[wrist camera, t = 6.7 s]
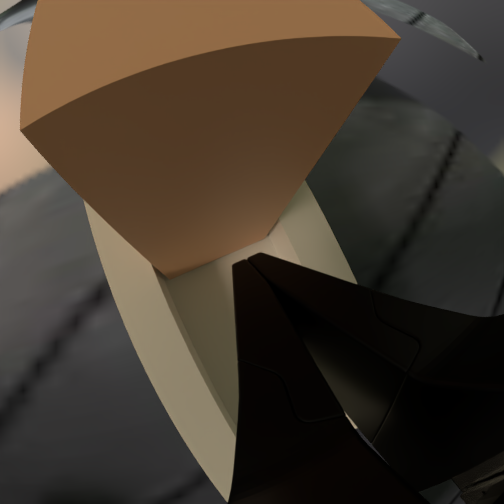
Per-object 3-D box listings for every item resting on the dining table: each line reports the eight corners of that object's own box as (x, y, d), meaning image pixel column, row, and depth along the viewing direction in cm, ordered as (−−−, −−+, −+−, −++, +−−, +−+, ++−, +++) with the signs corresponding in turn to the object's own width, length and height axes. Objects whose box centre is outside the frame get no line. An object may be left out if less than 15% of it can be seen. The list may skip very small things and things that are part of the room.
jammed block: (264, 238, 15) (401, 38, 3) (169, 279, 14) (20, 130, 2) (223, 156, 15) (255, -65, 4) (135, 190, 14) (43, -18, 3)
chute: (376, 404, 15) (410, 418, 11) (231, 481, 13) (237, 515, 9) (240, 121, 17) (247, 84, 14) (94, 177, 15) (72, 148, 12)
